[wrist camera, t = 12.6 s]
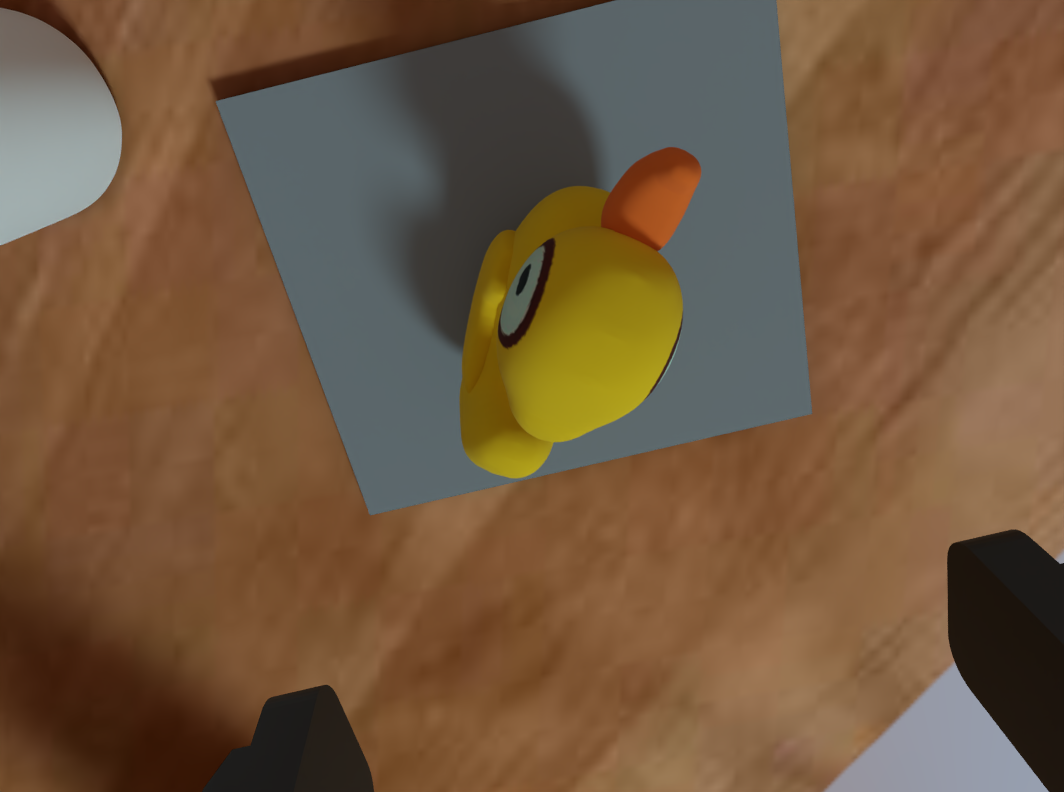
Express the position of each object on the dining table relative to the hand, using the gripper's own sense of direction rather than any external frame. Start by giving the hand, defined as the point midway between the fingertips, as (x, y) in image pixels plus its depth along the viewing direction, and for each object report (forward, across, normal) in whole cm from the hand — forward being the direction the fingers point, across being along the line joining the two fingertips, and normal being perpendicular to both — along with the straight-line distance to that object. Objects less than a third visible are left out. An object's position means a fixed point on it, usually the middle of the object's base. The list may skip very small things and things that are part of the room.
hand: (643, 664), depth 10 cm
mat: (+20, 0, 0) cm, 20 cm away
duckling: (+20, 0, 0) cm, 20 cm away
